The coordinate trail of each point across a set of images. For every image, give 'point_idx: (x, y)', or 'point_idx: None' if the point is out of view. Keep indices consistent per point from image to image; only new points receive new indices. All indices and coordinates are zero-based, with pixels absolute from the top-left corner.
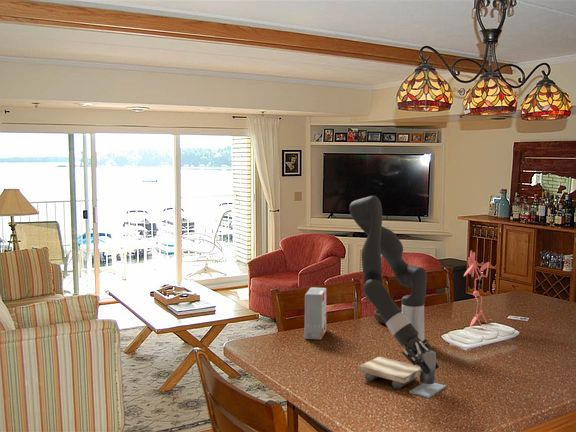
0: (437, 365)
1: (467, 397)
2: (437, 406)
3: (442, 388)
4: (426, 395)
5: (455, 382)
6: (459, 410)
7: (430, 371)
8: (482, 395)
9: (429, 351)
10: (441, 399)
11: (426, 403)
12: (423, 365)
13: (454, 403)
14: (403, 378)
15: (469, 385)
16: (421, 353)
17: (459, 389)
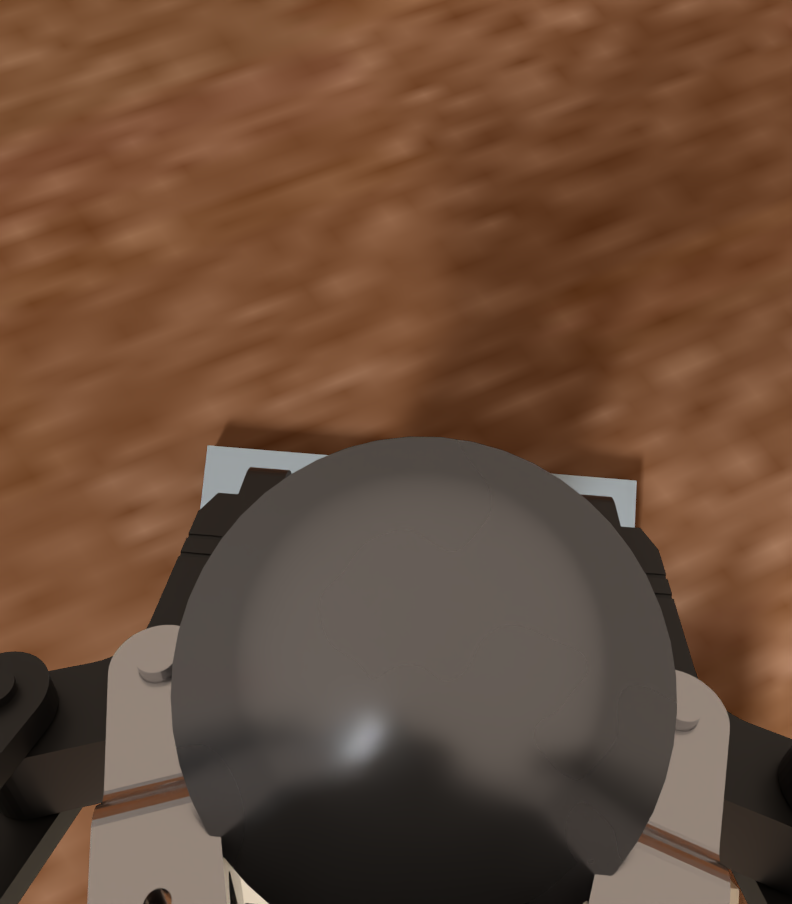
0: (280, 480)
1: (355, 155)
2: (773, 317)
3: (292, 453)
4: (628, 511)
5: (5, 412)
6: (722, 105)
7: (584, 496)
8: (214, 53)
9: (304, 686)
10: (573, 354)
11: (776, 444)
12: (679, 633)
13: (588, 206)
14: (734, 895)
15: (11, 252)
16: (634, 839)
17: (187, 299)
